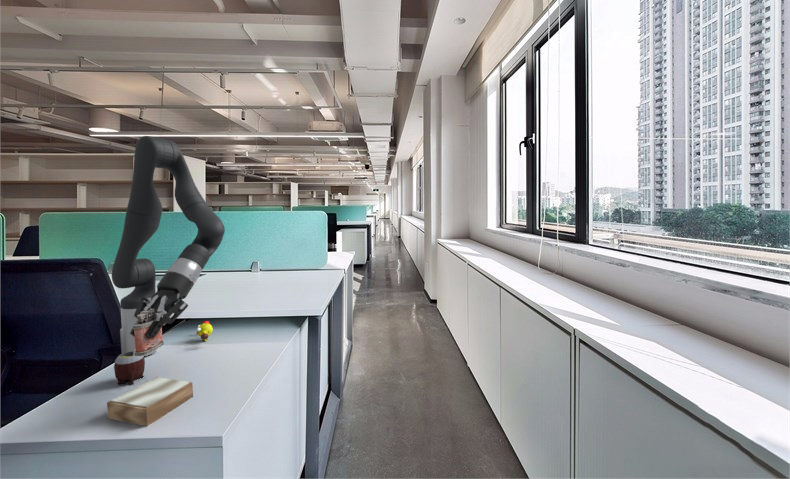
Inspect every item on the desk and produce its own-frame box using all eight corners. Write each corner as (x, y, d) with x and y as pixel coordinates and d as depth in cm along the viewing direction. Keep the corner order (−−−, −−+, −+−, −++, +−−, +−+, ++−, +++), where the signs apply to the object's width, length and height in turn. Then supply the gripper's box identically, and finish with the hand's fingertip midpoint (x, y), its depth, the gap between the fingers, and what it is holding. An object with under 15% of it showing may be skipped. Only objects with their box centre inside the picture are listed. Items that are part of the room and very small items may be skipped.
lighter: (145, 356, 82) (142, 315, 81) (130, 356, 82) (127, 315, 81) (167, 343, 90) (164, 306, 89) (154, 343, 90) (151, 306, 89)
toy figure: (198, 334, 138) (197, 317, 138) (213, 332, 141) (212, 316, 140) (195, 350, 122) (194, 332, 122) (212, 347, 125) (212, 329, 124)
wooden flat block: (108, 418, 82) (106, 401, 82) (157, 390, 95) (156, 375, 95) (147, 426, 79) (146, 408, 79) (193, 396, 92) (192, 381, 92)
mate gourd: (116, 389, 96) (113, 337, 94) (113, 379, 101) (110, 330, 100) (149, 380, 101) (146, 331, 99) (144, 371, 106) (142, 324, 105)
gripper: (150, 269, 93) (106, 327, 83) (193, 271, 90) (153, 332, 79) (168, 284, 99) (130, 340, 88) (209, 287, 95) (174, 345, 85)
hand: (141, 336), depth 84 cm, fingers closed on lighter, 4 cm apart
